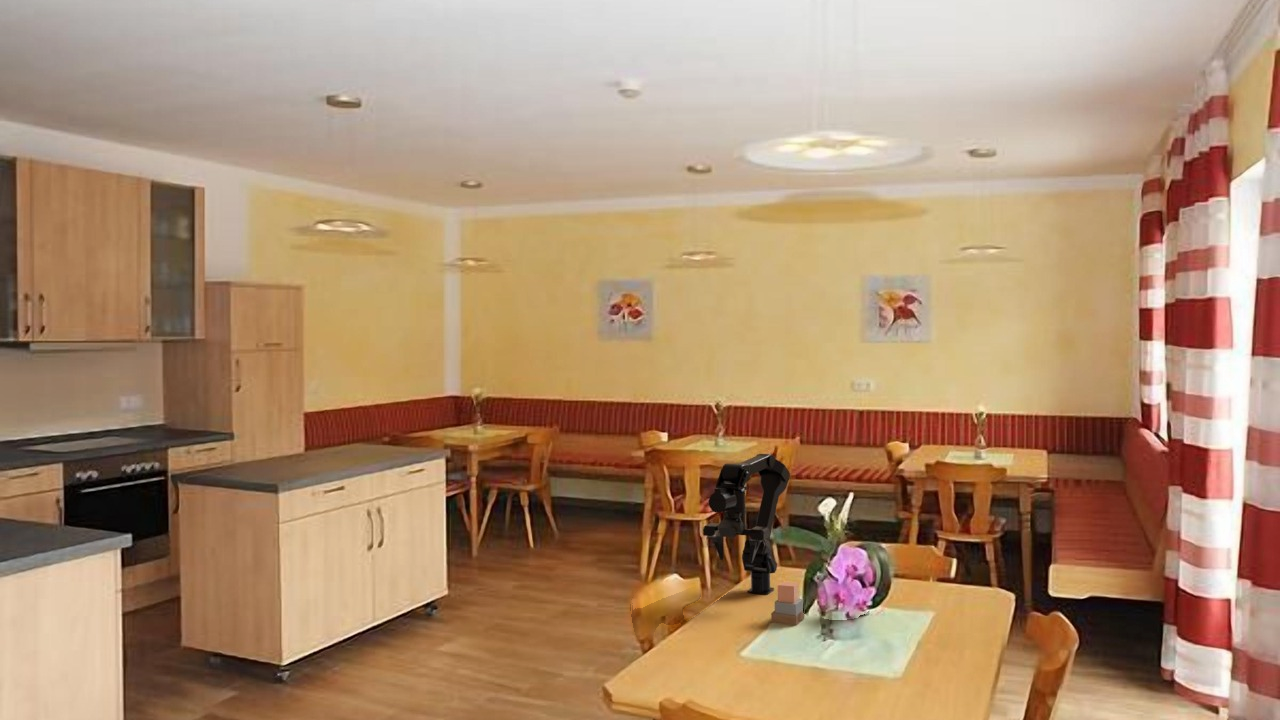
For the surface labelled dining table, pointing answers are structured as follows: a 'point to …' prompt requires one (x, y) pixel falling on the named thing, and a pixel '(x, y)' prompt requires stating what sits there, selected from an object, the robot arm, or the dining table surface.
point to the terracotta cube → (788, 592)
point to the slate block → (789, 607)
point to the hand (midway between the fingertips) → (736, 561)
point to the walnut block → (787, 618)
